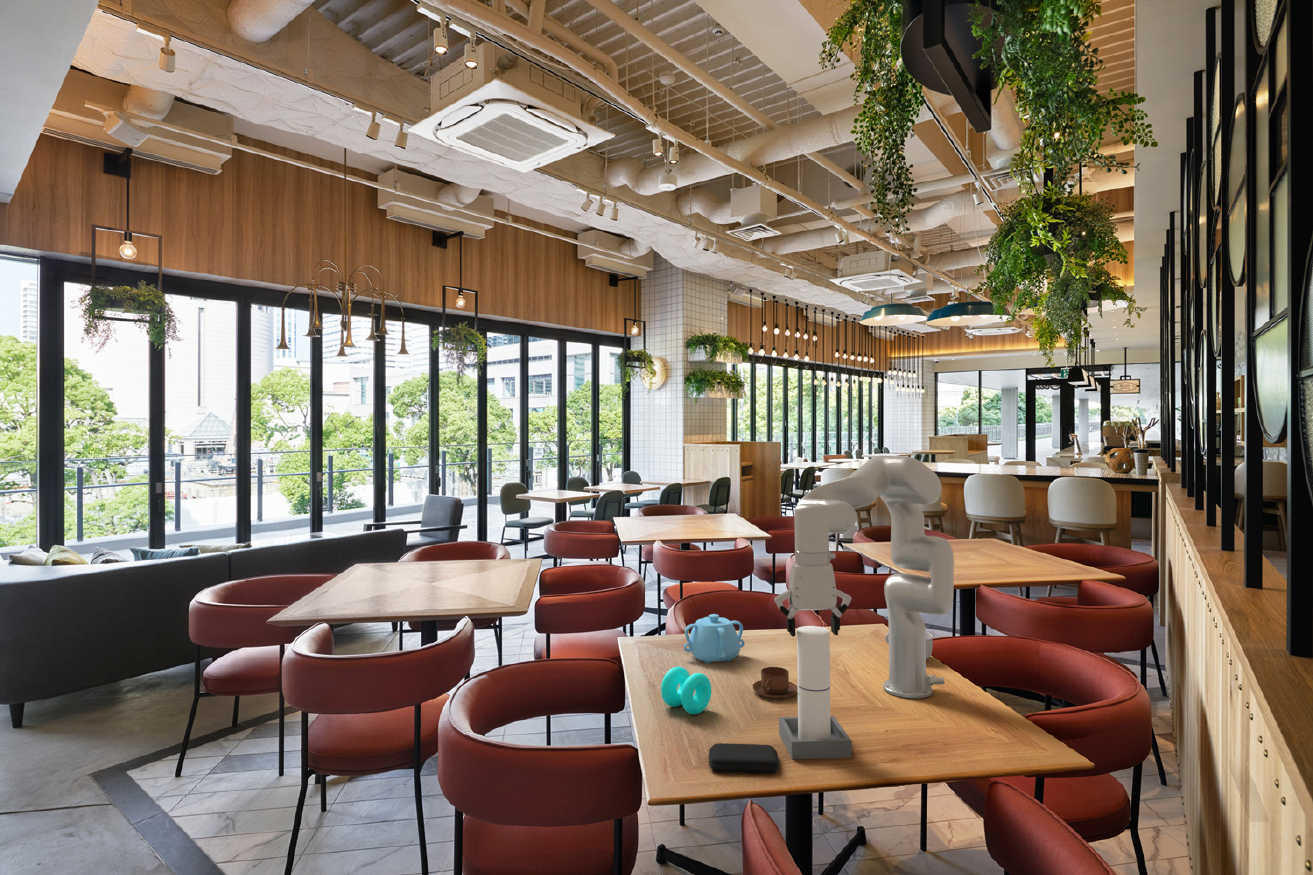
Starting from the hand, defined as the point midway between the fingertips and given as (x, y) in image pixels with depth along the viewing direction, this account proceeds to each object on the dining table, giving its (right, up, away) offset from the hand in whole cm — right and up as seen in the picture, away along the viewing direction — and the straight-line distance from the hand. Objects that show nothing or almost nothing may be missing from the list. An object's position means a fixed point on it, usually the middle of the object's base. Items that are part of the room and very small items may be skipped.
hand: (813, 634), depth 155 cm
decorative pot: (-17, -25, +61) cm, 68 cm away
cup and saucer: (-3, -25, +31) cm, 40 cm away
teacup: (+43, -25, +59) cm, 78 cm away
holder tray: (0, -25, 0) cm, 25 cm away
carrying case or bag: (-17, -26, -8) cm, 32 cm away
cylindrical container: (0, -24, 0) cm, 24 cm away
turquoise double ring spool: (-28, -25, +21) cm, 43 cm away
